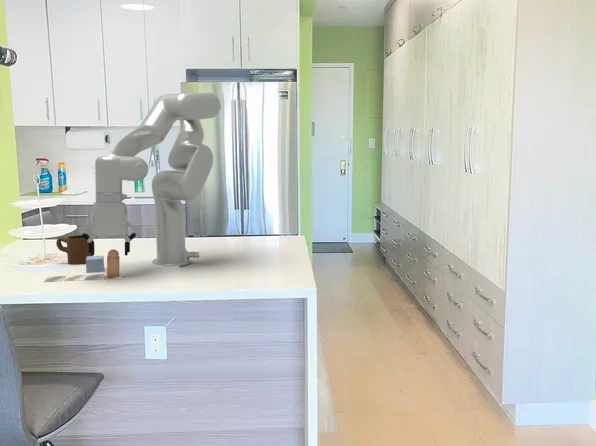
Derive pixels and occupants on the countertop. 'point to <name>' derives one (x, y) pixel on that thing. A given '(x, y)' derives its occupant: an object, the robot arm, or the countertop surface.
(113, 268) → the pawn
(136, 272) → the countertop surface
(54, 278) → the track
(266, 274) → the countertop surface
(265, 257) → the countertop surface
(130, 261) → the countertop surface
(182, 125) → the robot arm
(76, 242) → the mug
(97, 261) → the light blue cube
